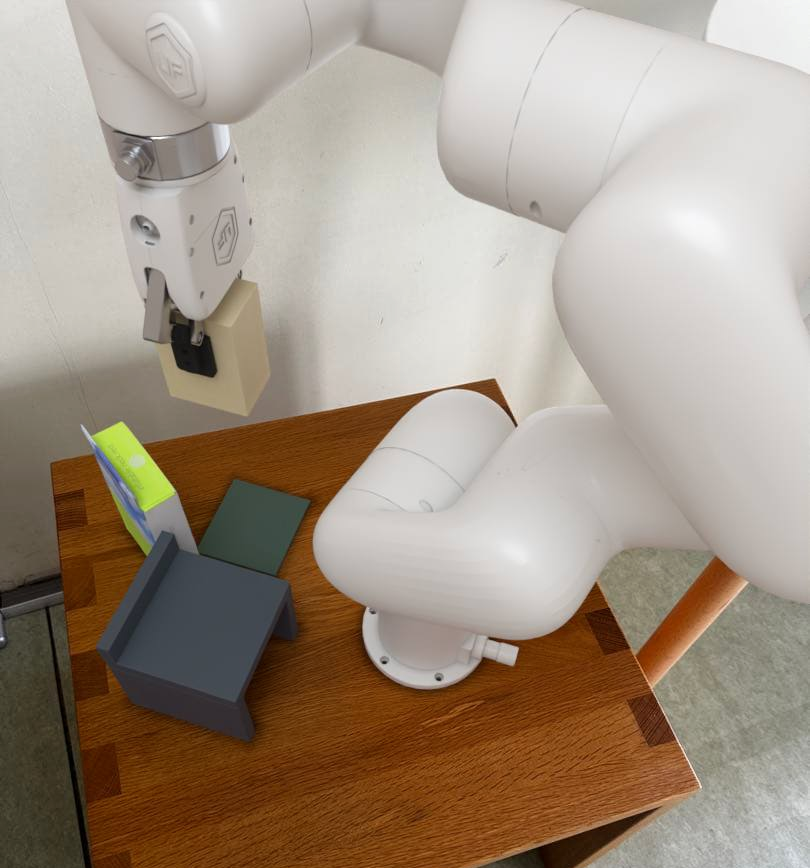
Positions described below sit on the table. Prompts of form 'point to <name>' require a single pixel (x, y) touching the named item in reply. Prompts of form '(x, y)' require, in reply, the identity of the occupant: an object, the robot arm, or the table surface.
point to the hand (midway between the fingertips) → (212, 344)
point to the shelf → (195, 636)
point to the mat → (253, 527)
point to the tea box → (226, 354)
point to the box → (140, 489)
